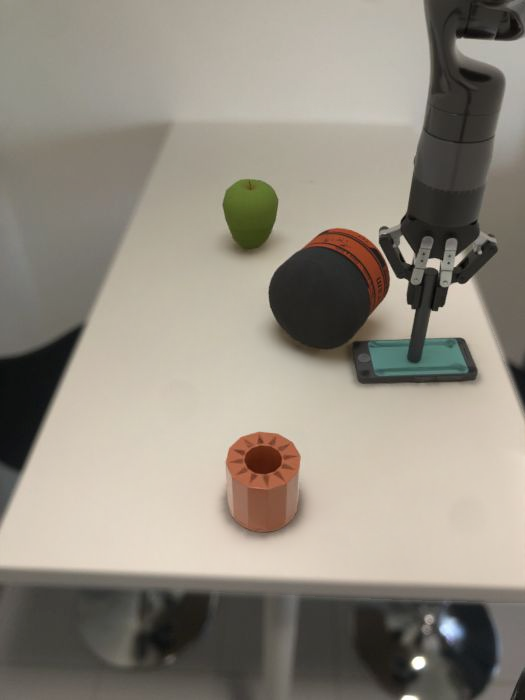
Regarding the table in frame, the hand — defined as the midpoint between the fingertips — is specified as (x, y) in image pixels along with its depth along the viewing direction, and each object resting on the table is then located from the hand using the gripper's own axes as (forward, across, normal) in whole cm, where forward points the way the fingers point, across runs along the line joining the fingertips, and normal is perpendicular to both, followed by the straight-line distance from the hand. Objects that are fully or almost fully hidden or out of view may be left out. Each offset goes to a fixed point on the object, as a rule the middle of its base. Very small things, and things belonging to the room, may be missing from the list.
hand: (424, 306), depth 81 cm
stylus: (+9, 0, 0) cm, 9 cm away
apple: (+10, -25, +26) cm, 37 cm away
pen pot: (+10, -16, -24) cm, 30 cm away
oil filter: (+10, -12, +6) cm, 16 cm away
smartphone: (+10, 0, +1) cm, 10 cm away
